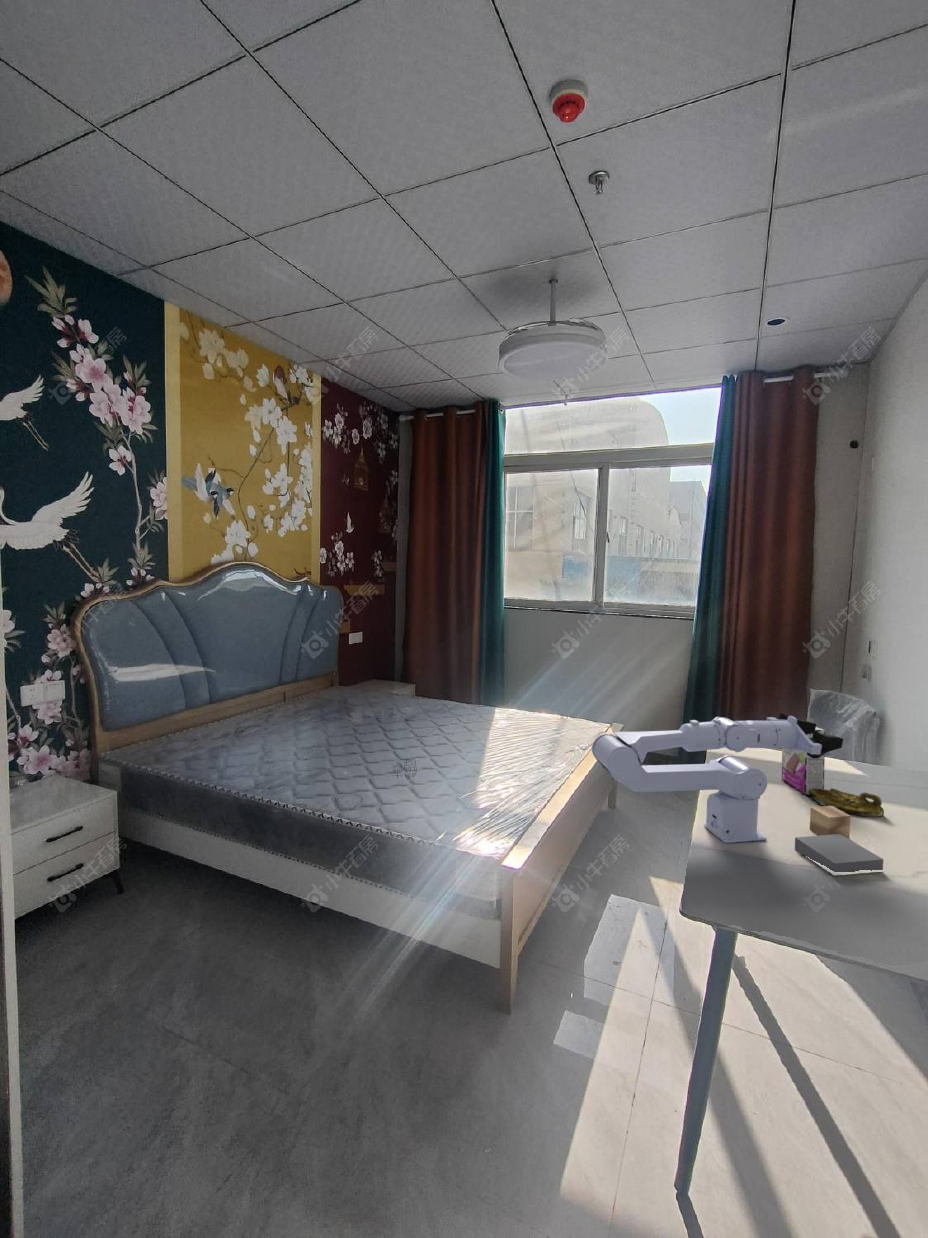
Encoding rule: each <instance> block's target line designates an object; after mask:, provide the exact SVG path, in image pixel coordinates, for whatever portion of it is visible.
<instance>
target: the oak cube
mask: <svg viewBox="0 0 928 1238" xmlns="http://www.w3.org/2000/svg"><path fill="white" fill-rule="evenodd" d="M809 817H810V818H809V830H810V831H812V832H813V833H816V834H817V836H820V835H833V834H841V835H843V836H845V837H846V838H849V839H850V834H851V833H850V831H851V818H852V817H851V815H850V814H849V813H847V812H843V811H841V810H839V809H837V808H835V807H833V806H823V805H821V806H811V807H810V815H809Z"/></svg>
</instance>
